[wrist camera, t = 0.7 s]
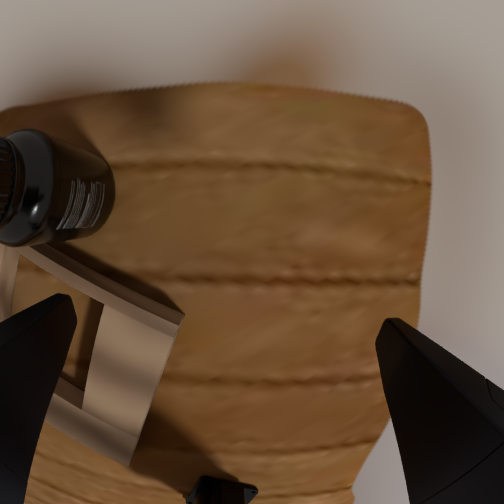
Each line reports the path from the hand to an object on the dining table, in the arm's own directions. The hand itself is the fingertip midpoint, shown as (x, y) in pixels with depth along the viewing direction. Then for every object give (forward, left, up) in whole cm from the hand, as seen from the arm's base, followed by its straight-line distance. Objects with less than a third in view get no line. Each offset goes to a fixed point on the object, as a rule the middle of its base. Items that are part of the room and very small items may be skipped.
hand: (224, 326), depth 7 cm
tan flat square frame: (-14, +11, -14) cm, 22 cm away
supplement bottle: (0, +13, -14) cm, 19 cm away
